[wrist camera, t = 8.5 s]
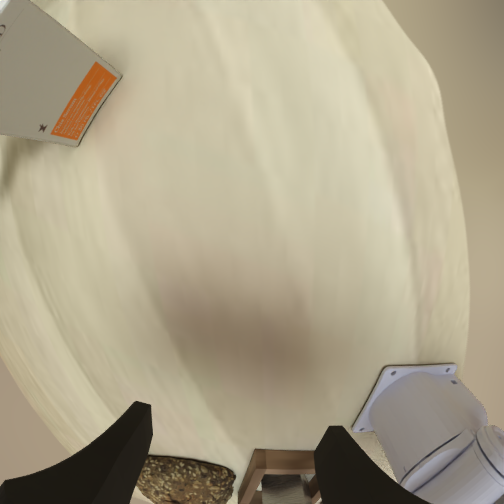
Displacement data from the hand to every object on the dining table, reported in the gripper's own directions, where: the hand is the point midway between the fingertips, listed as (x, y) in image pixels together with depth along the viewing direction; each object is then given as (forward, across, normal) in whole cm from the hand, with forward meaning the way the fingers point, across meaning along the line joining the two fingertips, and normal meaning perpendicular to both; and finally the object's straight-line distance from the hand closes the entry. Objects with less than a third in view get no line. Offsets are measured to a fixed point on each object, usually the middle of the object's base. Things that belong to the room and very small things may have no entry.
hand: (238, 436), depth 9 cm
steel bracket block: (+10, -8, +19) cm, 23 cm away
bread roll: (+10, +3, +23) cm, 26 cm away
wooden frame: (+9, -8, +19) cm, 23 cm away
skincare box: (+10, +14, -14) cm, 22 cm away
